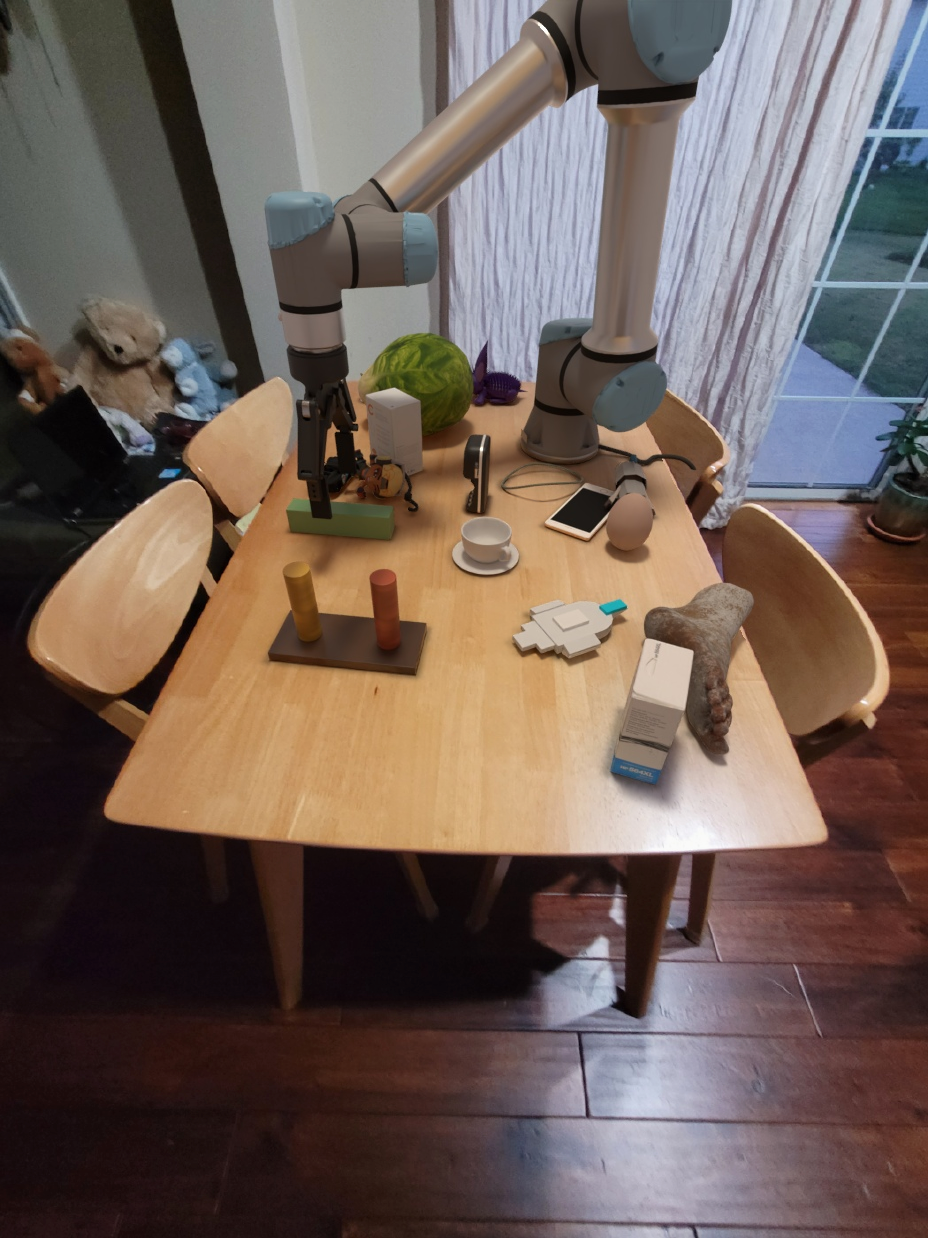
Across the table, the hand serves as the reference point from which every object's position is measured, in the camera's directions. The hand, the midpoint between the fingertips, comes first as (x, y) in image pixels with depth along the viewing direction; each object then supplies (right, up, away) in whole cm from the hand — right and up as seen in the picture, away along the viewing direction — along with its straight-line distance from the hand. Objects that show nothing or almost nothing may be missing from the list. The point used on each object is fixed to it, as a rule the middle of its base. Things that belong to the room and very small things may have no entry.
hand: (336, 493), depth 87 cm
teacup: (+22, -10, 0) cm, 24 cm away
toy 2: (+46, -4, +3) cm, 47 cm away
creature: (+25, +31, +45) cm, 60 cm away
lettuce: (+9, +20, +32) cm, 39 cm away
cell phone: (+40, -1, +9) cm, 41 cm away
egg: (+44, -8, +2) cm, 45 cm away
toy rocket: (+33, -19, -14) cm, 40 cm away
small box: (+7, +9, +20) cm, 23 cm away
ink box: (+38, -33, -25) cm, 56 cm away
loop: (+35, +9, +20) cm, 42 cm away
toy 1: (+1, +9, +12) cm, 15 cm away
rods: (+5, -22, -15) cm, 27 cm away
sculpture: (+42, -24, -22) cm, 53 cm away
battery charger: (+21, +1, +11) cm, 24 cm away
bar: (0, -5, +4) cm, 7 cm away
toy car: (-4, +5, +16) cm, 17 cm away
